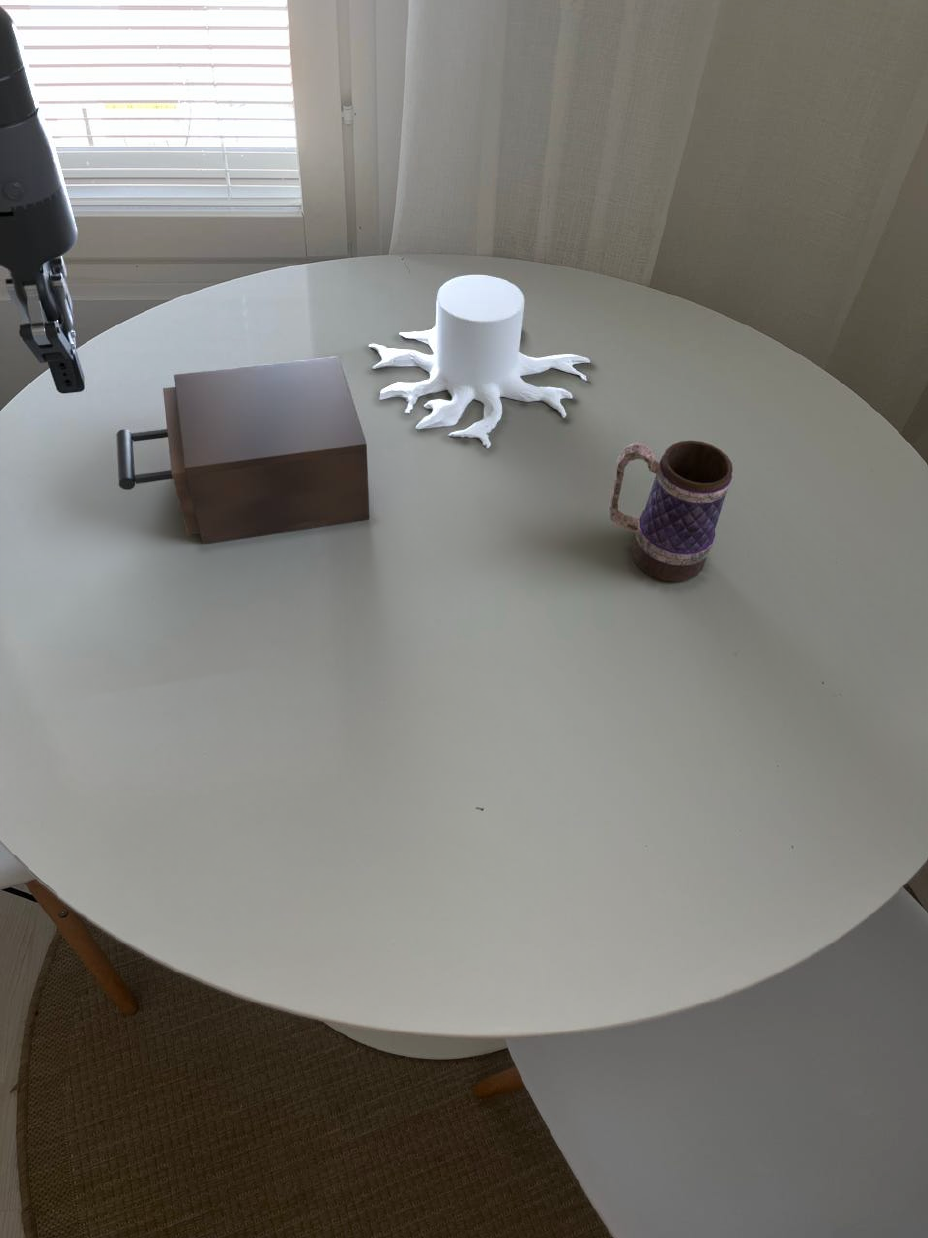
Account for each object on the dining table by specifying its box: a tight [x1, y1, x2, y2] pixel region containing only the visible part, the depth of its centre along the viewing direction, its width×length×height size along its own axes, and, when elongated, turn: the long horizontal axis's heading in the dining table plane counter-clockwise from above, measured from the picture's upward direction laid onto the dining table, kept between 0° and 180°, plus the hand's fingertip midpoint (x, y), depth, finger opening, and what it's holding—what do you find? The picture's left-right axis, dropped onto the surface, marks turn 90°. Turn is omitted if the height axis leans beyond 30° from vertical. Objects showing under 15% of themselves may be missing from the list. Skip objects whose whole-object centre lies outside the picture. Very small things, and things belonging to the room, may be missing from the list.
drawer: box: [115, 386, 200, 536], centre depth 85 cm, size 20×12×7 cm, turn 105°
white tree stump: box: [368, 274, 591, 449], centre depth 100 cm, size 23×25×9 cm
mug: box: [608, 440, 734, 582], centre depth 82 cm, size 10×7×12 cm
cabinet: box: [173, 355, 371, 545], centre depth 86 cm, size 16×14×9 cm
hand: (72, 387), depth 76 cm, fingers closed
